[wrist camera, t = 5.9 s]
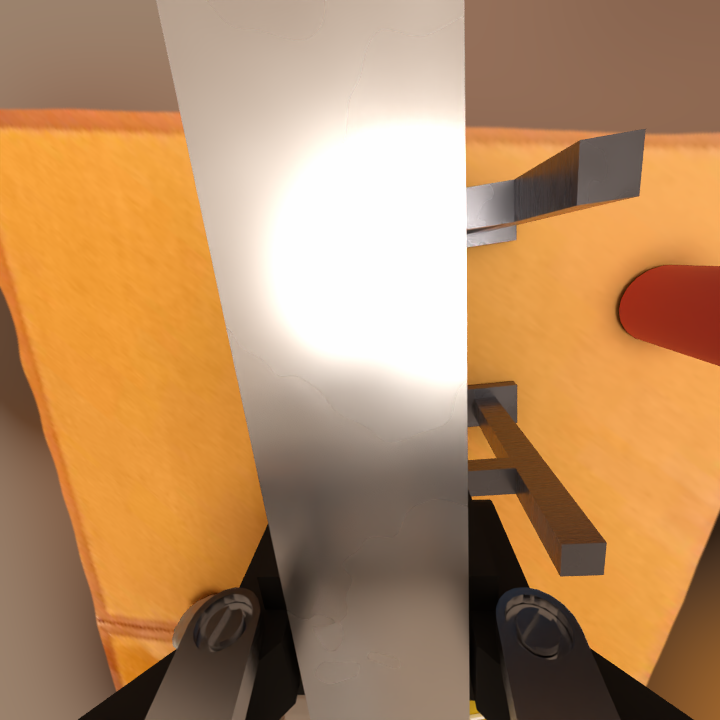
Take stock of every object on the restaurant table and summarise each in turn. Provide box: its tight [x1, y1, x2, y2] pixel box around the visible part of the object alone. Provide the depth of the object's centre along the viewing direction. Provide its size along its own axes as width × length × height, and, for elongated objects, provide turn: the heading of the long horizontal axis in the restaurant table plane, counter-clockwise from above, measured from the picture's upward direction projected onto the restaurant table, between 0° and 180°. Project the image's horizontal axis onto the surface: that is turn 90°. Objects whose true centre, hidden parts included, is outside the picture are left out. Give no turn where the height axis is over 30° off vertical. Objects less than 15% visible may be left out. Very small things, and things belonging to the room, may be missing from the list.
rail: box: [156, 0, 470, 720], centre depth 7 cm, size 22×3×3 cm, turn 6°
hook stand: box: [466, 129, 645, 576], centre depth 22 cm, size 21×9×18 cm, turn 8°
